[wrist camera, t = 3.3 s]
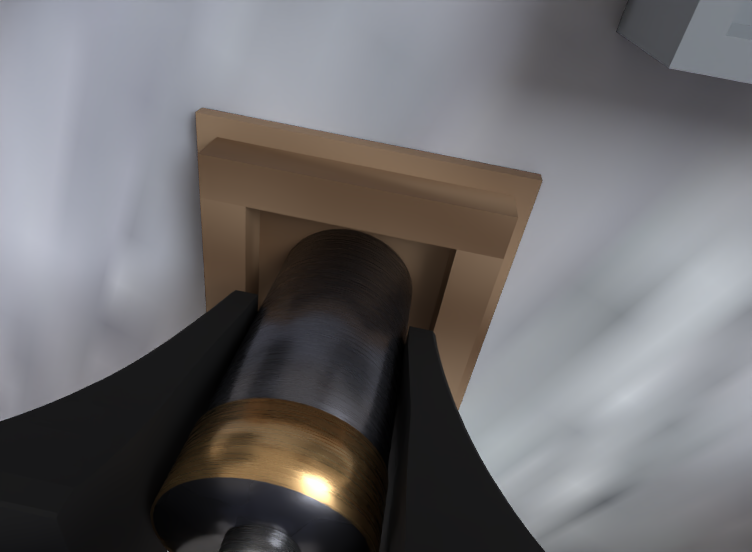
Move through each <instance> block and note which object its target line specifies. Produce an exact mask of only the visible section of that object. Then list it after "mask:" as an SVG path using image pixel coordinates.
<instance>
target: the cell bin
mask: <svg viewBox="0 0 752 552" xmlns="http://www.w3.org/2000/svg"><path fill="white" fill-rule="evenodd" d="M616 32H618V33H619V34H621V35H622V36H623V37H625V38H626V39H628V40H629V41H631V42H632V43H633V44H635V45H636V46H638V47H639V48H641V49H642V50H643V51H645V52H646V53H648V54H649V55H651V56H652V57H653V58H655V59H656V60H658V61H659V62H660V63H662V64H663V65H665V66H666V67H668V68H670V69H675V70H680V71H686V72H691V73H696V74H702V75H707V76H712V77H717V78H723V79H728V80H733V81H738V82H744V83H749V84H752V0H628V3H627V5H626V8H625V11H624V13H623V16H622V18H621V21H620V24H619V26H618V29H617V31H616Z"/></svg>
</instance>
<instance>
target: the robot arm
mask: <svg viewBox="0 0 752 552" xmlns="http://www.w3.org/2000/svg"><path fill="white" fill-rule="evenodd" d="M257 313H258V294H253V293H248V292H243V291H238V290H235V291H233V292H232V293H230V294H229V295H228V296H227V297H225V298H224V299H223V300H222V301H220V302H219V303H218V304H217V305H215V306H214V307H213V308H212V309H210V310H209V311H208V312H206V313H205V314H204V315H203V316H201V317H200V318H199V319H197V320H196V321H195V322H193V323H192V324H190V325H189V326H188V327H186V328H185V329H184V330H182V331H181V332H180V333H178V334H177V335H175V336H174V337H173V338H171V339H170V340H168V341H167V342H165V343H164V344H162V345H160V346H159V347H157V348H156V349H154V350H153V351H151V352H150V353H148V354H147V355H145V356H144V357H142V358H140V359H139V360H137V361H135V362H134V363H132V364H130V365H128V366H127V367H125V368H123V369H121V370H120V371H118V372H116V373H114V374H112V375H110V376H108V377H107V378H105V379H103V380H100V381H98V382H96V383H94V384H92V385H90V386H88V387H85V388H83V389H81V390H79V391H77V392H75V393H73V394H71V395H68V396H66V397H64V398H61V399H59V400H56V401H54V402H52V403H49V404H47V405H44V406H42V407H39V408H36V409H34V410H31V411H28V412H26V413H23V414H20V415H18V416H15V417H12V418H9V419H6V420H3V421H0V552H167V549H166V548H165V547H164V546H163V545H162V543H161V542H160V541H159V539H158V538H157V536H156V534H155V532H154V530H153V527H152V524H151V516H150V513H151V507H152V505H153V503H154V501H155V499H156V497H157V495H158V493H159V491H160V489H161V487H162V485H163V484H164V482H165V480H166V478H167V476H168V474H169V472H170V471H171V469H172V467H173V465H174V463H175V461H176V459H177V458H178V456H179V454H180V452H181V450H182V448H183V446H184V445H185V443H186V441H187V439H188V437H189V435H190V433H191V431H192V430H193V428H194V426H195V424H196V423H197V422H198V420H199V419H200V418H201V417H202V416H203V415H204V413H205V411H206V409H207V407H208V405H209V403H210V401H211V399H212V398H213V396H214V394H215V392H216V390H217V388H218V386H219V384H220V383H221V381H222V379H223V377H224V375H225V373H226V371H227V369H228V367H229V366H230V364H231V362H232V360H233V358H234V356H235V354H236V352H237V351H238V349H239V347H240V345H241V343H242V341H243V339H244V337H245V335H246V334H247V332H248V330H249V328H250V326H251V324H252V322H253V320H254V319H255V317H256V315H257ZM388 482H389V483H388V490H387V498H386V505H385V512H384V520H383V527H382V535H381V542H380V549H379V552H545V551H544V550H543V548H542V547H541V546H540V545H539V544H538V542H537V541H536V540H535V539H534V537H533V536H532V535H531V534H530V532H529V531H528V530H527V528H526V527H525V525H524V524H523V523H522V521H521V520H520V519H519V517H518V516H517V515H516V513H515V512H514V510H513V509H512V507H511V506H510V504H509V503H508V501H507V500H506V498H505V497H504V495H503V494H502V492H501V491H500V489H499V488H498V486H497V484H496V483H495V481H494V480H493V478H492V477H491V475H490V473H489V472H488V470H487V468H486V466H485V465H484V463H483V461H482V459H481V458H480V456H479V454H478V452H477V450H476V448H475V446H474V444H473V442H472V440H471V438H470V436H469V434H468V432H467V430H466V428H465V426H464V423H463V421H462V419H461V416H460V414H459V412H458V409H457V407H456V404H455V402H454V399H453V396H452V394H451V391H450V388H449V385H448V382H447V379H446V376H445V373H444V370H443V366H442V363H441V359H440V355H439V351H438V346H437V341H436V335H435V333H434V332H433V331H431V330H426V329H421V328H417V327H412V326H409V330H408V334H407V338H406V342H405V347H404V355H403V362H402V369H401V378H400V386H399V393H398V400H397V407H396V414H395V421H394V429H393V436H392V443H391V450H390V457H389V464H388Z"/></svg>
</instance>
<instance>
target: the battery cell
mask: <svg viewBox="0 0 752 552" xmlns="http://www.w3.org/2000/svg"><path fill="white" fill-rule="evenodd" d="M411 300H412V281H411V277H410V274H409V271H408V269H407V267H406V265H405V263H404V262H403V260H402V259H401V257H400V256H399V255H398V254H397V253H396V252H395V251H394V250H393V249H392V248H391V247H389V246H388V245H387V244H385V243H384V242H382V241H381V240H379V239H377V238H375V237H373V236H371V235H369V234H366V233H363V232H359V231H355V230H349V229H329V230H324V231H320V232H317V233H314V234H311V235H309V236H308V237H306V238H304V239H303V240H301V241H300V242H299V243H298V244H297V245H296V246H295V247H293V249H292V250H291V252H290V253H289V255H288V256H287V258H286V260H285V262H284V264H283V266H282V268H281V270H280V271H279V273H278V275H277V277H276V279H275V281H274V283H273V285H272V287H271V288H270V290H269V292H268V294H267V296H266V298H265V300H264V302H263V303H262V305H261V307H260V309H259V311H258V313H257V315H256V317H255V319H254V320H253V322H252V324H251V326H250V328H249V330H248V332H247V334H246V335H245V337H244V339H243V341H242V343H241V345H240V347H239V349H238V351H237V352H236V354H235V356H234V358H233V360H232V362H231V364H230V366H229V367H228V369H227V371H226V373H225V375H224V377H223V379H222V381H221V383H220V384H219V386H218V388H217V390H216V392H215V394H214V396H213V398H212V399H211V401H210V403H209V405H208V407H207V409H206V411H205V413H204V415H203V416H202V417H201V418H200V419H199V420H198V422H197V423H196V424H195V426H194V428H193V430H192V431H191V433H190V435H189V437H188V439H187V441H186V443H185V445H184V446H183V448H182V450H181V452H180V454H179V456H178V458H177V459H176V461H175V463H174V465H173V467H172V469H171V471H170V472H169V474H168V476H167V478H166V480H165V482H164V484H163V485H162V487H161V489H160V491H159V493H158V495H157V497H156V499H155V501H154V503H153V505H152V507H151V513H150V516H151V524H152V527H153V530H154V532H155V534H156V536H157V538H158V539H159V541H160V542H161V543H162V545H163V546H164V547H165V548H166V549H167V550H168V551H169V552H379V549H380V542H381V535H382V527H383V520H384V512H385V505H386V498H387V490H388V483H389V482H388V464H389V457H390V450H391V443H392V436H393V429H394V421H395V414H396V407H397V400H398V393H399V386H400V378H401V369H402V362H403V355H404V347H405V342H406V335H407V328H408V321H409V314H410V307H411Z"/></svg>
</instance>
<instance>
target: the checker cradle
mask: <svg viewBox="0 0 752 552" xmlns="http://www.w3.org/2000/svg"><path fill="white" fill-rule="evenodd" d="M196 130H197V148H198V170H199V188H200V206H201V224H202V242H203V260H204V278H205V296H206V312H208V311H209V310H210V309H212V308H213V307H214V306H215V305H217V304H218V303H219V302H220V301H222V300H223V299H224V298H225V297H227V296H228V295H229V294H230V293H232V292H233V291H235V290H238V291H243V292H248V293H253V294H258V311H259V309H260V307H261V305H262V303H263V302H264V300H265V298H266V296H267V294H268V292H269V290H270V288H271V287H272V285H273V283H274V281H275V279H276V277H277V275H278V273H279V271H280V270H281V268H282V266H283V264H284V262H285V260H286V258H287V256H288V255H289V253H290V252H291V250H292V249H293V247H295V246H296V245H297V244H298V243H299V242H300V241H301V240H303V239H304V238H306V237H308V236H309V235H311V234H314V233H317V232H320V231H324V230H329V229H349V230H355V231H359V232H363V233H366V234H369V235H371V236H373V237H375V238H377V239H379V240H381V241H382V242H384V243H385V244H387V245H388V246H389V247H391V248H392V249H393V250H394V251H395V252H396V253H397V254H398V255H399V256H400V257H401V259H402V260H403V262H404V263H405V265H406V267H407V269H408V271H409V274H410V277H411V281H412V300H411V307H410V314H409V321H408V328H407V334H408V330H409V326H412V327H417V328H421V329H426V330H431V331H433V332H434V333H435V335H436V341H437V346H438V351H439V355H440V359H441V363H442V366H443V370H444V373H445V376H446V379H447V382H448V385H449V388H450V391H451V394H452V396H453V399H454V402H455V404H456V407H457V409H458V410H459V407H460V404H461V402H462V399H463V396H464V394H465V391H466V388H467V385H468V383H469V380H470V377H471V374H472V372H473V369H474V366H475V364H476V361H477V358H478V355H479V353H480V350H481V347H482V344H483V342H484V339H485V336H486V334H487V331H488V328H489V325H490V323H491V320H492V317H493V314H494V312H495V309H496V306H497V304H498V301H499V298H500V295H501V293H502V290H503V287H504V284H505V282H506V279H507V276H508V273H509V271H510V268H511V265H512V263H513V260H514V257H515V254H516V252H517V249H518V246H519V243H520V241H521V238H522V235H523V233H524V230H525V227H526V224H527V222H528V219H529V216H530V213H531V211H532V208H533V205H534V203H535V200H536V197H537V194H538V192H539V189H540V186H541V183H542V178H541V174H536V173H531V172H526V171H521V170H516V169H510V168H505V167H500V166H495V165H490V164H485V163H480V162H475V161H470V160H465V159H460V158H455V157H450V156H445V155H439V154H434V153H429V152H424V151H419V150H414V149H409V148H404V147H399V146H394V145H389V144H384V143H379V142H373V141H368V140H363V139H358V138H353V137H348V136H343V135H338V134H333V133H328V132H323V131H318V130H313V129H308V128H302V127H297V126H292V125H287V124H282V123H277V122H272V121H267V120H262V119H257V118H252V117H247V116H242V115H236V114H231V113H226V112H221V111H216V110H211V109H206V108H201V109H199V110H198V111H197V112H196ZM406 338H407V335H406Z"/></svg>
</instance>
